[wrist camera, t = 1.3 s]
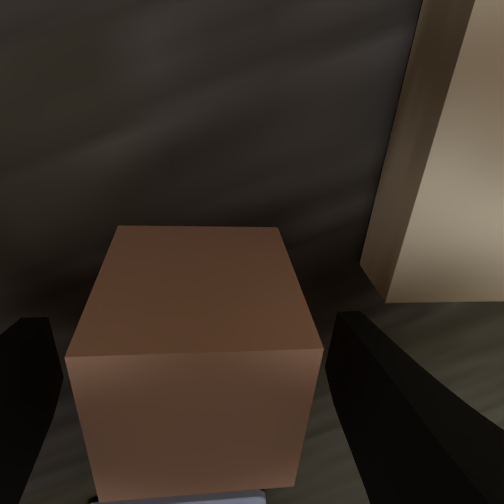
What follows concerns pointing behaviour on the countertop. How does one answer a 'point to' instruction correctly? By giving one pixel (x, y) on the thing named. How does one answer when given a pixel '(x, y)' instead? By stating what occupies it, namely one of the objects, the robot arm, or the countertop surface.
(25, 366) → the robot arm
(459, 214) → the base
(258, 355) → the block
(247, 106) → the countertop surface
